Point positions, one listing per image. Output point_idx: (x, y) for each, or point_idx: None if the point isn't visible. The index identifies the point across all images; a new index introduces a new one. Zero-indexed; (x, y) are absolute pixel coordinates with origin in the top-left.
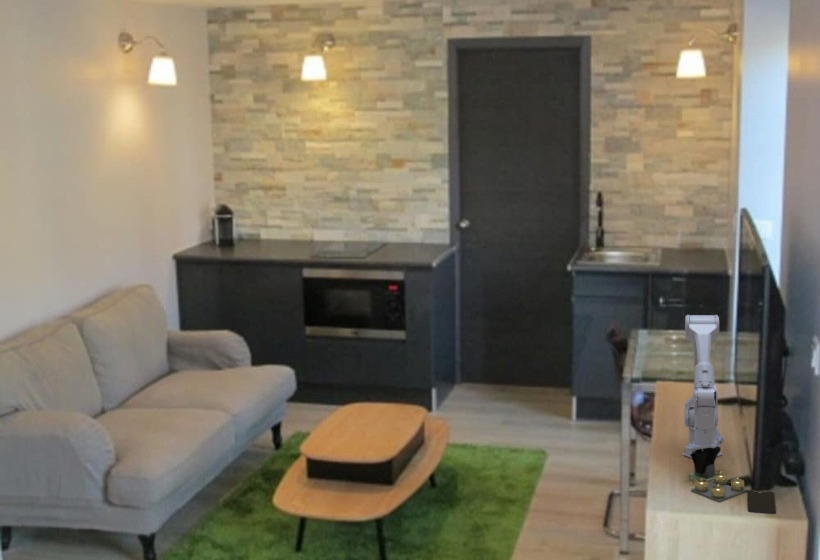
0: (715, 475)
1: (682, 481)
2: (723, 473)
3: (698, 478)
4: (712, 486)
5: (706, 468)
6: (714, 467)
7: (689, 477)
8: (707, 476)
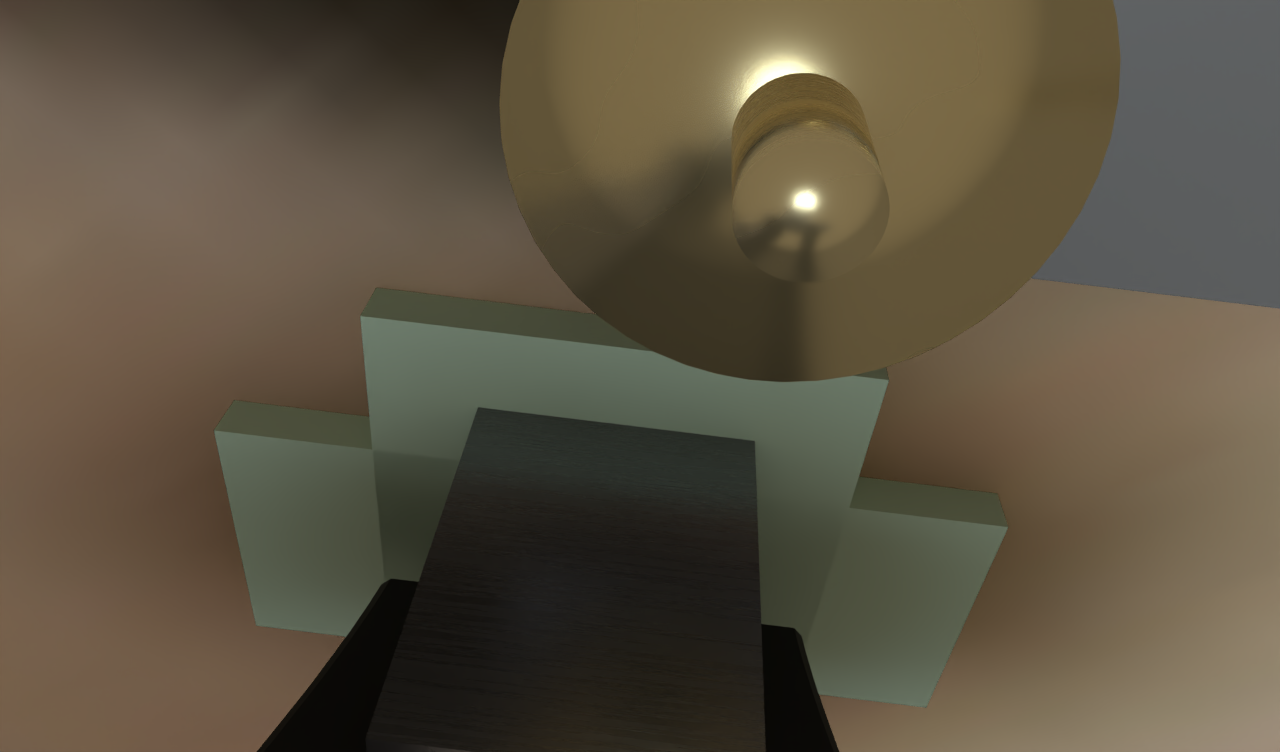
0: (1005, 264)
1: (1127, 696)
2: (559, 146)
3: (868, 577)
4: (1277, 35)
5: (751, 715)
6: (413, 611)
7: (928, 700)
8: (756, 489)
